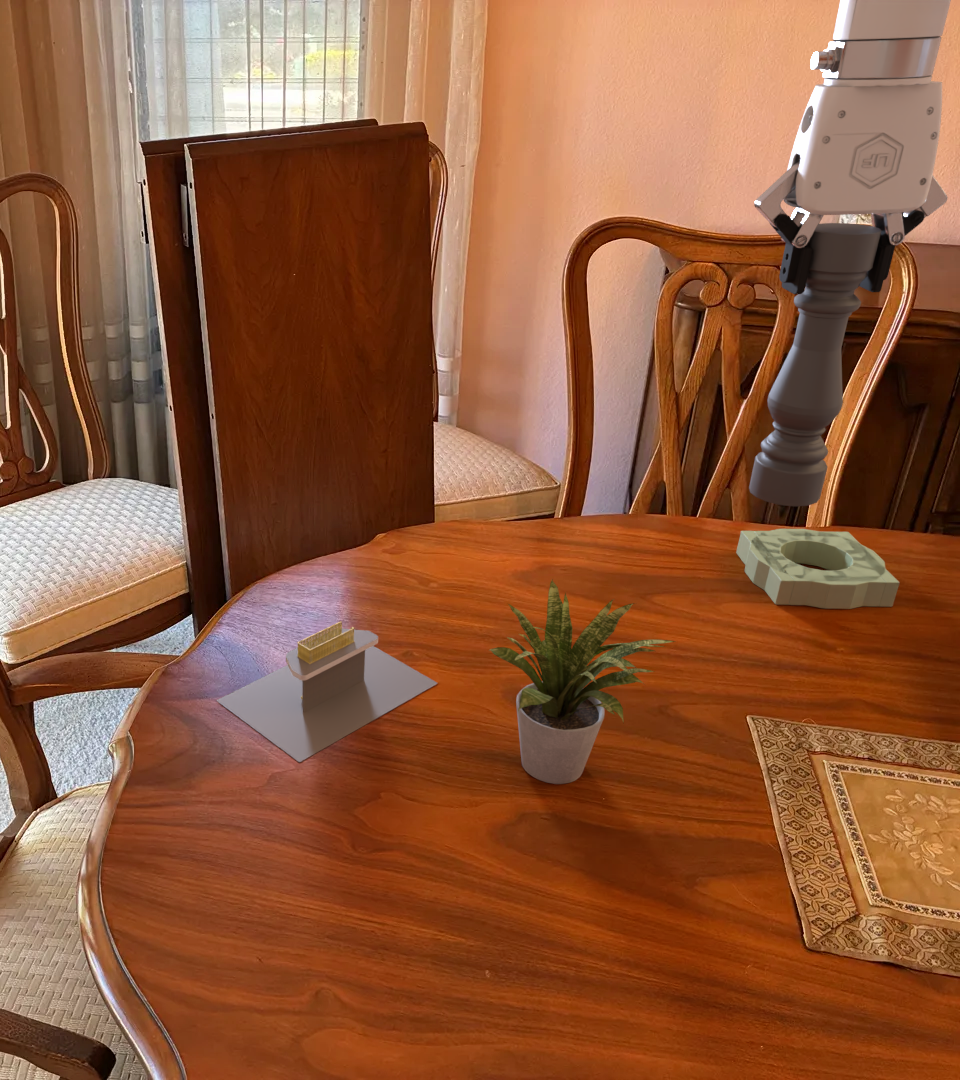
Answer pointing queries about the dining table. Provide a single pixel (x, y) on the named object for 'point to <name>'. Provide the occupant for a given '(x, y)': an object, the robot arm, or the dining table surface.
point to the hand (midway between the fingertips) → (830, 287)
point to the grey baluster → (813, 367)
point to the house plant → (568, 688)
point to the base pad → (788, 583)
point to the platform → (325, 691)
